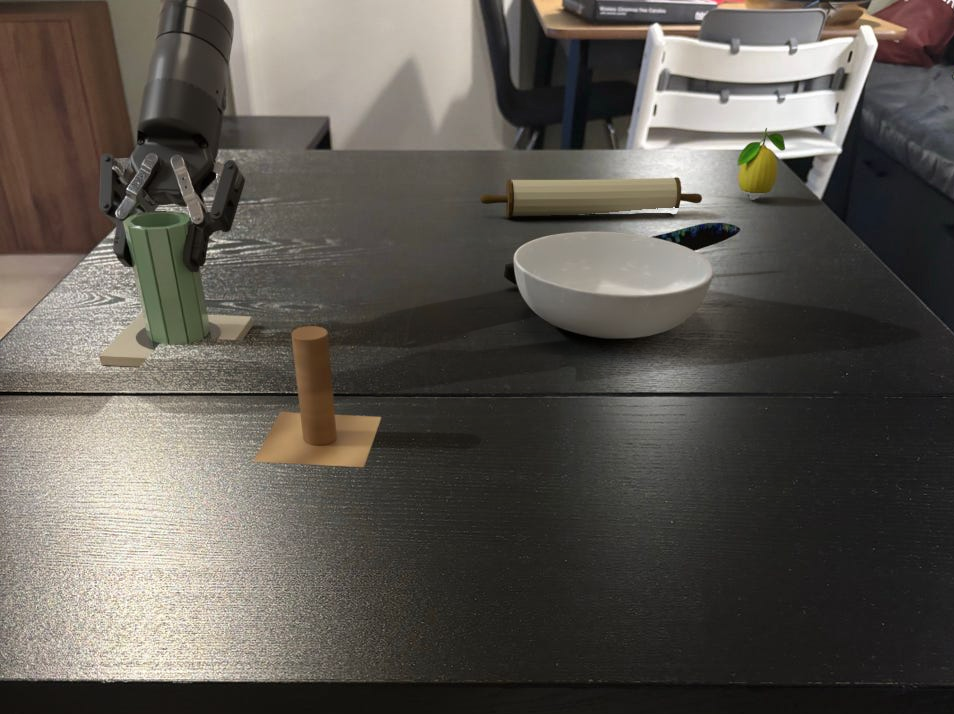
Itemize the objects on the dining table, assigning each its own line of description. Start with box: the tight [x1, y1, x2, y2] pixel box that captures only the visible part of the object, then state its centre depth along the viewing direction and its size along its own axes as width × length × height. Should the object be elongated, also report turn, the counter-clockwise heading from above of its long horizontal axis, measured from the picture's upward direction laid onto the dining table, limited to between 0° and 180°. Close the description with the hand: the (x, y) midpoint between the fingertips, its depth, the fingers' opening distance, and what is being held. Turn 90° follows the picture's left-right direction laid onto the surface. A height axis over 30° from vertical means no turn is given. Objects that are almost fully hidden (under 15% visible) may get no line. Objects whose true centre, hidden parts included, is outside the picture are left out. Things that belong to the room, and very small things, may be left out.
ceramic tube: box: [123, 210, 210, 346], centre depth 92 cm, size 6×6×11 cm
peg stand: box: [253, 325, 382, 468], centre depth 76 cm, size 9×9×10 cm
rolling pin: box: [480, 176, 703, 219], centre depth 134 cm, size 32×6×5 cm, turn 96°
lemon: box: [736, 127, 786, 194], centre depth 140 cm, size 7×6×10 cm
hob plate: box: [98, 311, 254, 368], centre depth 96 cm, size 12×12×1 cm
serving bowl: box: [513, 231, 715, 340], centre depth 100 cm, size 21×21×7 cm
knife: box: [503, 222, 741, 287], centre depth 112 cm, size 31×3×4 cm, turn 104°
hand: (157, 265), depth 90 cm, fingers closed on ceramic tube, 6 cm apart
